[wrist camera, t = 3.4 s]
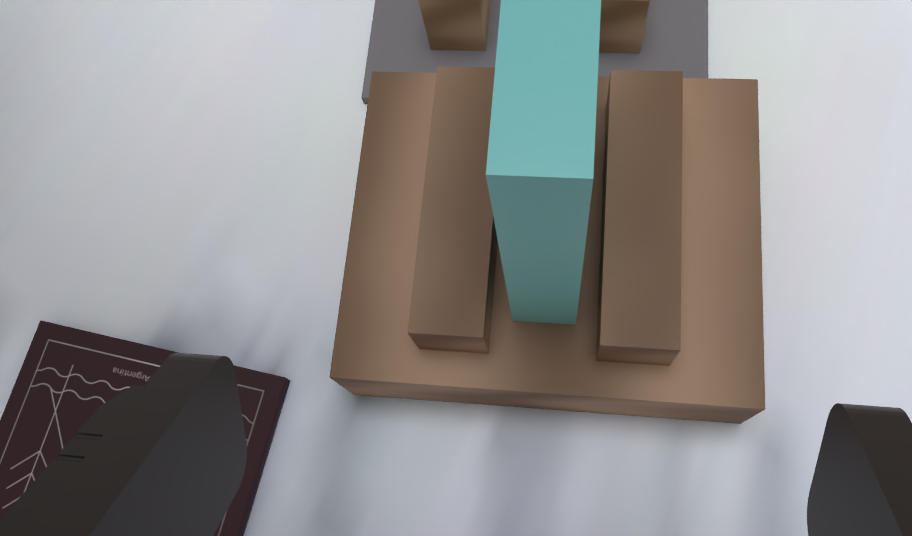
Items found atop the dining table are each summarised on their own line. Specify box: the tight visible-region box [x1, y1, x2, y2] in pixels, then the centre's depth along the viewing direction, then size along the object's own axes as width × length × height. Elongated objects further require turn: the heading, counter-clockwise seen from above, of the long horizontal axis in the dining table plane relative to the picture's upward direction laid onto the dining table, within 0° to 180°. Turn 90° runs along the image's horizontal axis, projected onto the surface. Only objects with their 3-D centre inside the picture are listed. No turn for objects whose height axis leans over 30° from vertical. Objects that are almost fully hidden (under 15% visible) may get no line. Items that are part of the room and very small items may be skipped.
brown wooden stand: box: [330, 66, 765, 424], centre depth 24 cm, size 12×10×5 cm
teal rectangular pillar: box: [486, 0, 601, 325], centre depth 19 cm, size 2×6×10 cm, turn 175°
